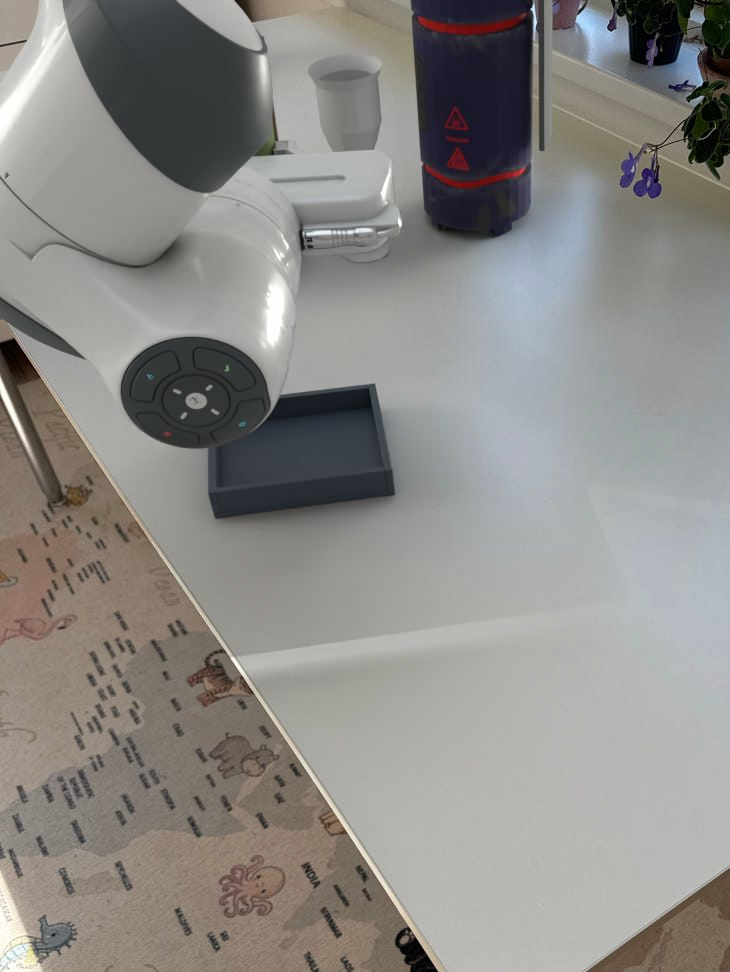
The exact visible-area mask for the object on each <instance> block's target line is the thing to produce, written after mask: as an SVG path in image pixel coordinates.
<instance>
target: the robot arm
mask: <svg viewBox="0 0 730 972" xmlns="http://www.w3.org/2000/svg"><path fill="white" fill-rule="evenodd" d="M262 36H263V35H262V34H261V33H260V31H259V30H258V29H257V27H256V26H255V25H254V24H253V22H252V21H251V19H250V18H249V17H248V15H247V14H246V12H244V10H243V9H242V8H241V6H239V4H238V3H237V2H236V0H38V8H37V14H36V19H35V22H34V25H33V28H32V31H31V33H30V35H29V36H28V38H27V40H26V42H25V43H24V44H23V46H22V48H21V50H20V52H19V53H18V54H17V56H16V57H15V59H14V61H13V63H12V64H11V66H10V67H9V68H8V70H7V72H6V73H5V75H4V77H3V79H2V80H1V81H0V319H2V320H3V321H5V322H6V323H7V324H9V325H10V326H12V327H13V328H15V329H16V330H18V331H19V332H21V333H23V334H24V335H25V336H28V337H29V338H32V339H33V340H34V341H37V342H39V343H41V344H43V345H45V346H47V347H50V348H52V349H55V350H57V351H59V352H61V353H64V354H68V355H70V356H73V357H76V358H79V359H82V360H84V361H87V362H88V363H89V364H90V365H91V367H93V369H94V370H95V371H96V372H97V374H98V375H99V376H100V378H101V379H102V381H103V383H104V385H105V386H106V388H107V390H108V392H109V394H110V396H111V398H112V400H113V402H114V403H115V405H116V407H117V408H118V409H119V411H120V412H121V414H122V415H123V416H124V417H125V419H126V420H127V421H128V422H129V423H130V424H131V425H132V426H134V428H136V429H137V430H139V431H140V432H141V433H143V434H144V435H146V436H148V437H150V438H151V439H153V440H154V441H157V442H159V443H161V444H164V445H166V446H171V447H174V448H178V449H179V448H180V449H188V450H204V449H208V448H212V447H218V446H222V445H226V444H229V443H232V442H234V441H237V440H239V439H241V438H243V437H245V436H246V435H248V434H249V433H251V432H252V431H253V430H255V429H256V428H257V427H258V426H260V425H261V424H262V423H263V422H264V421H265V420H266V418H267V417H268V416H269V415H270V413H271V412H272V410H273V409H274V407H275V405H276V403H277V401H278V399H279V397H280V395H282V392H283V389H284V387H285V384H286V380H287V377H288V373H289V370H290V366H291V362H292V357H293V352H294V351H293V350H294V345H295V338H296V337H295V336H296V329H297V328H296V326H297V313H296V303H297V299H298V296H299V291H300V283H301V268H302V260H303V259H302V258H303V257H314V256H316V257H317V256H330V255H331V256H332V255H342V254H349V253H360V252H366V251H370V250H374V249H376V248H378V247H379V246H381V245H382V244H383V243H384V242H385V243H386V241H387V239H388V238H389V237H397V236H398V235H399V234H400V232H401V228H402V223H403V222H402V213H401V211H400V209H399V206H398V205H396V204H397V203H396V188H395V175H394V167H393V166H394V165H393V159H392V157H391V156H390V155H389V154H387V153H385V152H382V151H380V150H378V149H374V150H361V151H343V152H333V151H330V152H329V151H327V152H311V153H306V152H304V151H303V150H300V149H299V148H298V144H297V140H296V139H289V140H287V139H286V140H279V141H275V143H274V146H273V153H274V155H272V156H253V155H254V154H255V153H256V152H257V151H258V150H259V149H260V148H261V147H262V146H263V145H264V144H265V143H266V142H267V141H268V140H269V138H270V135H271V131H272V114H273V104H274V95H273V93H274V91H273V90H274V89H273V77H272V69H271V67H272V66H271V62H270V61H271V60H270V56H269V49H268V45H267V43H266V41H264V39H265V38H264V39H263V37H262ZM252 156H253V157H252Z"/></svg>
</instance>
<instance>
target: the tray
mask: <svg viewBox="0 0 730 972" xmlns="http://www.w3.org/2000/svg"><path fill="white" fill-rule="evenodd" d="M207 495H208V498H209V502H210V506H211V509H212V513H213V516H214V519H219V518H227V517H228V518H229V517H234V516H242V515H243V516H244V515H250V514H258V513H265V512H272V511H273V512H274V511H280V510H281V511H282V510H288V509H295V508H302V507H311V506H317V505H325V504H335V503H341V502H348V501H356V500H363V499H371V498H378V497H384V496H386V497H387V496H393V495H396V490H395V478H394V470H393V465H392V460H391V455H390V450H389V445H388V439H387V436H386V430H385V424H384V419H383V414H382V410H381V405H380V400H379V395H378V391H377V385H376V383H367V384H357V385H349V386H341V387H332V388H324V389H316V390H315V389H314V390H307V391H300V392H292V393H291V392H289V393H283V394H282V393H281V394H280V397H279V399H278V401H277V403H276V405H275V407H274V409H273V410H272V412H271V413H270V415H269V416H268V417H267V418H266V420H265V421H264V422H263V423H262V424H261V425H260V426H258V427H257V428H256V429H255V430H253V431H252V432H251V433H249V434H248V435H246V436H245V437H243V438H241V439H239V440H237V441H234V442H232V443H229V444H226V445H222V446H218V447H212V448H207Z"/></svg>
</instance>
